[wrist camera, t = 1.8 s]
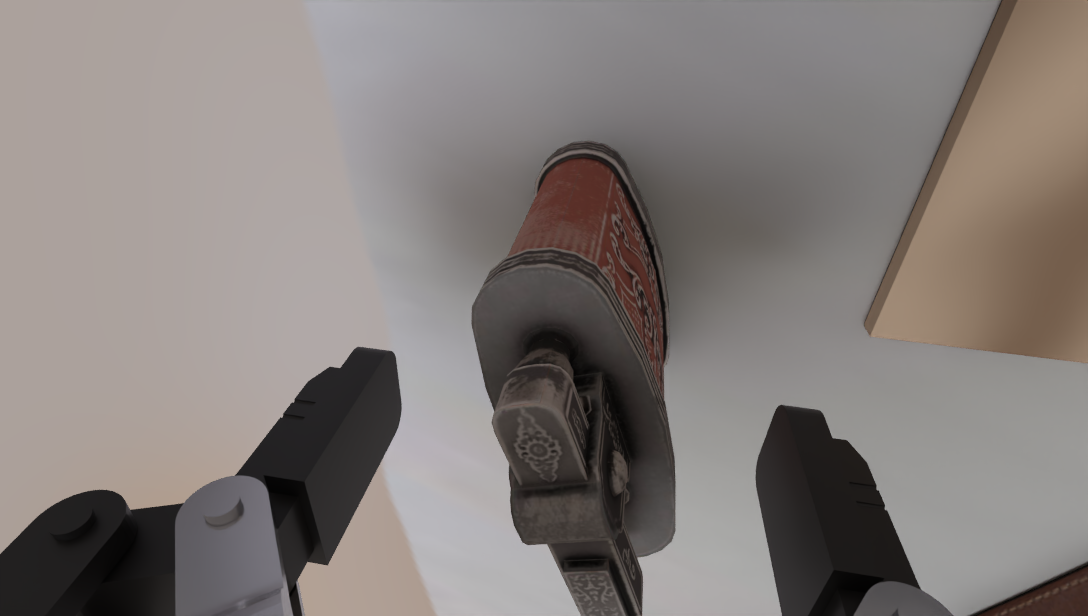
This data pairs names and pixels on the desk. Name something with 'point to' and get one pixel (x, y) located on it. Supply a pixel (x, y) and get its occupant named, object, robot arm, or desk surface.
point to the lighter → (583, 377)
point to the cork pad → (1004, 201)
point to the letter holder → (1050, 598)
